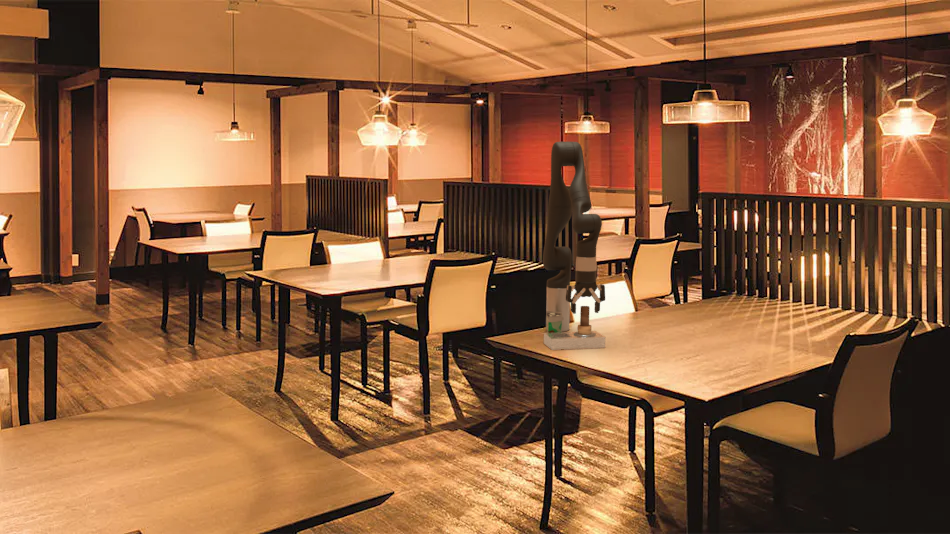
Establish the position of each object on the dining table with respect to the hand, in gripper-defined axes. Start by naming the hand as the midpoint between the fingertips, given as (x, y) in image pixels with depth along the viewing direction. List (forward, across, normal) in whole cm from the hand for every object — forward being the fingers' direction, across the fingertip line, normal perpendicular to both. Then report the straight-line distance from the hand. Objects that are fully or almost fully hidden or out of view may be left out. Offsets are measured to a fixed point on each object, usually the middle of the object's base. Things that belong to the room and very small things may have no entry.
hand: (585, 313), depth 315 cm
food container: (+12, +8, -11) cm, 18 cm away
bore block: (+12, +4, 0) cm, 13 cm away
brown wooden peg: (+8, 0, 0) cm, 8 cm away
